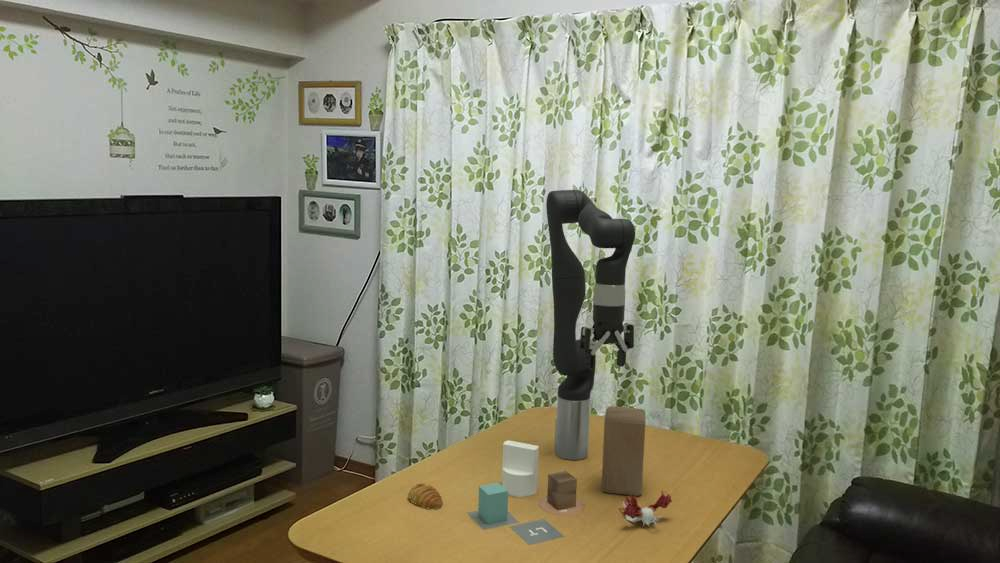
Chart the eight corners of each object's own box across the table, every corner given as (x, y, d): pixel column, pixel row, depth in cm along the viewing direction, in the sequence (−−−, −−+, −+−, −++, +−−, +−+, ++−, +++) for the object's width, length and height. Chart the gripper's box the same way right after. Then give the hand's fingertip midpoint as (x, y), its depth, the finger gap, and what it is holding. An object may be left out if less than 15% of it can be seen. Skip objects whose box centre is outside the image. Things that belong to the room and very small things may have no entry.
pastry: (450, 507, 171) (450, 492, 171) (426, 515, 167) (426, 500, 166) (427, 493, 178) (427, 479, 178) (404, 501, 174) (404, 486, 174)
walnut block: (547, 501, 174) (548, 474, 173) (564, 498, 176) (565, 471, 175) (557, 510, 169) (558, 482, 168) (575, 506, 171) (576, 478, 170)
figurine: (649, 504, 175) (650, 478, 174) (683, 525, 165) (685, 497, 164) (599, 517, 168) (601, 490, 167) (632, 539, 158) (633, 511, 157)
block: (641, 497, 179) (645, 420, 176) (601, 493, 180) (604, 416, 178) (641, 481, 188) (645, 408, 185) (603, 477, 190) (606, 404, 187)
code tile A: (509, 528, 161) (509, 526, 161) (544, 520, 165) (544, 518, 165) (528, 546, 153) (528, 544, 153) (564, 538, 157) (564, 536, 157)
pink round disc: (530, 501, 175) (530, 498, 175) (568, 493, 180) (568, 491, 180) (553, 520, 165) (553, 518, 165) (593, 511, 170) (593, 509, 170)
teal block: (478, 514, 167) (478, 486, 166) (497, 510, 169) (498, 482, 168) (487, 524, 162) (488, 494, 161) (507, 519, 164) (508, 490, 163)
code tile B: (466, 514, 167) (466, 512, 167) (501, 507, 172) (501, 505, 171) (483, 531, 160) (483, 529, 159) (519, 523, 164) (519, 521, 164)
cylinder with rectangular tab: (542, 487, 183) (544, 442, 182) (529, 501, 175) (530, 454, 173) (510, 480, 187) (511, 436, 185) (495, 493, 179) (497, 447, 177)
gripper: (624, 297, 178) (620, 361, 181) (575, 301, 172) (572, 366, 174) (642, 303, 172) (639, 368, 174) (593, 306, 165) (589, 374, 168)
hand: (605, 367), depth 174 cm, fingers open, 8 cm apart
